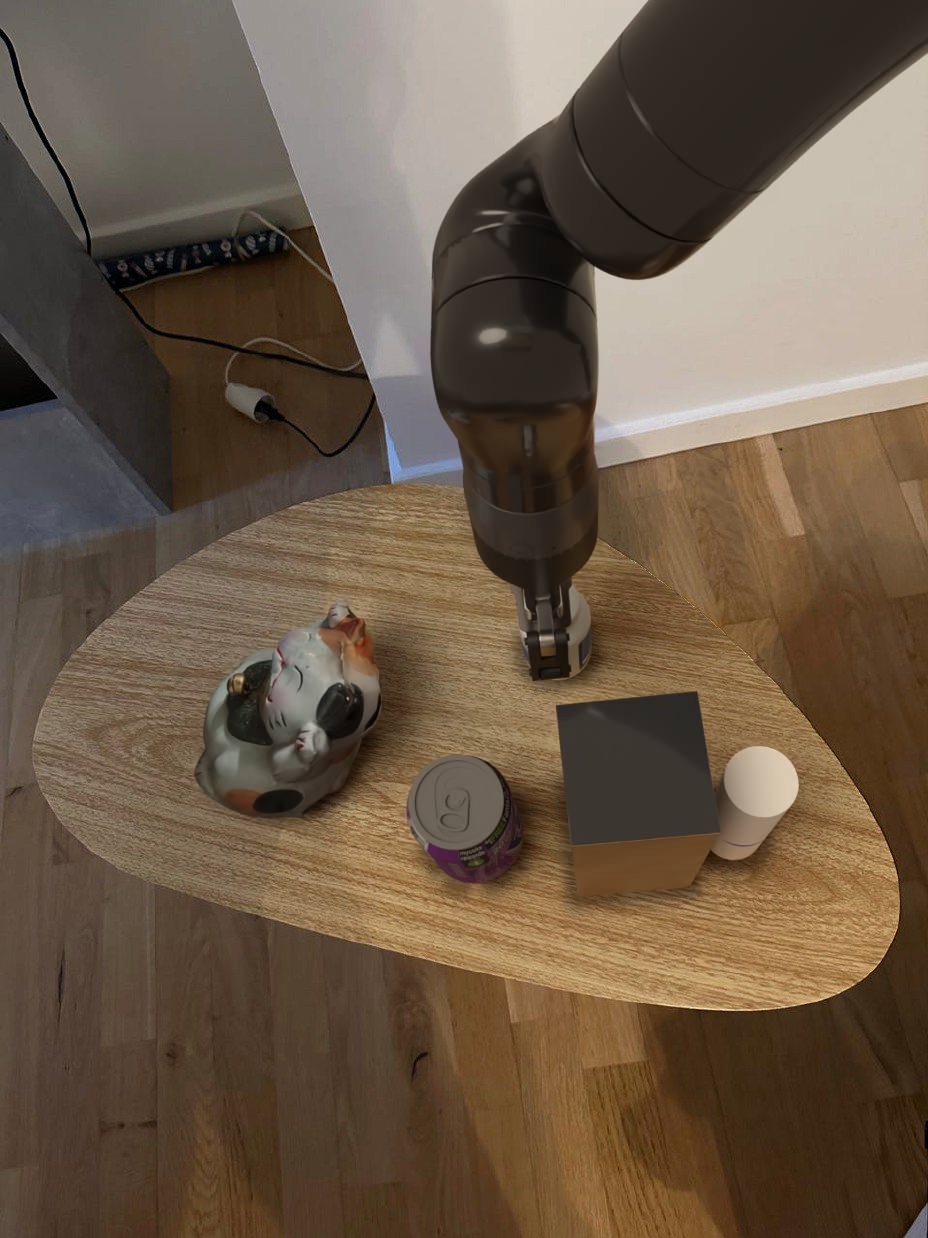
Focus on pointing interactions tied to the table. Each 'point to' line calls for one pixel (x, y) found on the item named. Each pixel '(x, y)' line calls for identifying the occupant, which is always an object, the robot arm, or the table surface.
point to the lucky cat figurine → (291, 719)
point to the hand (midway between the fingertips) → (543, 608)
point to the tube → (752, 799)
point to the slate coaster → (636, 769)
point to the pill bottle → (573, 633)
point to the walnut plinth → (639, 865)
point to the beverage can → (465, 818)
